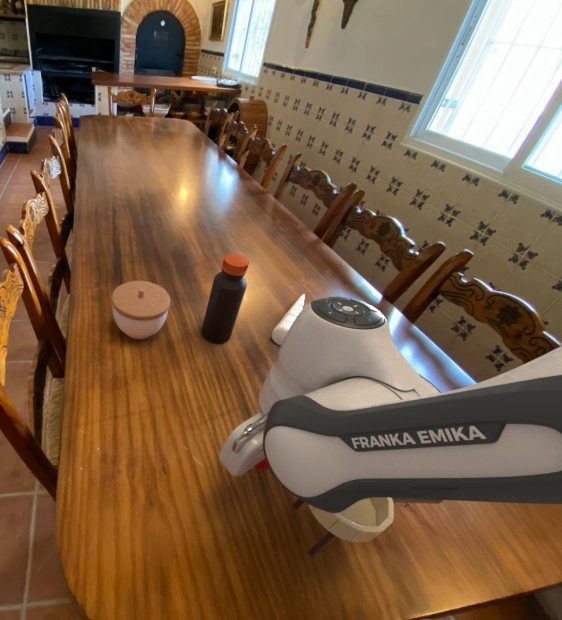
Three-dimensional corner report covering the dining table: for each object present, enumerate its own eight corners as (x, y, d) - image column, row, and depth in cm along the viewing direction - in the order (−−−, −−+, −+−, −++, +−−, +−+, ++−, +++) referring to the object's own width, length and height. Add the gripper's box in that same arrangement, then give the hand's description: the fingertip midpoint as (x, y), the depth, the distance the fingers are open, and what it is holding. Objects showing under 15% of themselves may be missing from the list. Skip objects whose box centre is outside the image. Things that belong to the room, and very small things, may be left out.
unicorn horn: (317, 301, 95) (324, 286, 92) (288, 351, 80) (295, 335, 77) (299, 294, 97) (306, 279, 94) (268, 341, 82) (274, 325, 79)
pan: (294, 565, 48) (333, 531, 40) (274, 496, 55) (304, 455, 47) (409, 567, 49) (469, 533, 41) (374, 498, 56) (420, 458, 48)
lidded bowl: (105, 314, 85) (106, 276, 78) (155, 307, 89) (160, 270, 82) (118, 352, 76) (120, 312, 69) (173, 343, 79) (180, 304, 72)
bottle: (219, 321, 86) (239, 248, 74) (236, 339, 82) (261, 265, 69) (195, 327, 84) (212, 254, 71) (211, 347, 79) (232, 272, 66)
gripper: (258, 456, 41) (230, 506, 50) (360, 387, 50) (321, 440, 59) (221, 415, 45) (201, 468, 54) (321, 357, 54) (290, 411, 63)
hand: (264, 453), depth 56 cm, fingers closed on tomato, 5 cm apart
